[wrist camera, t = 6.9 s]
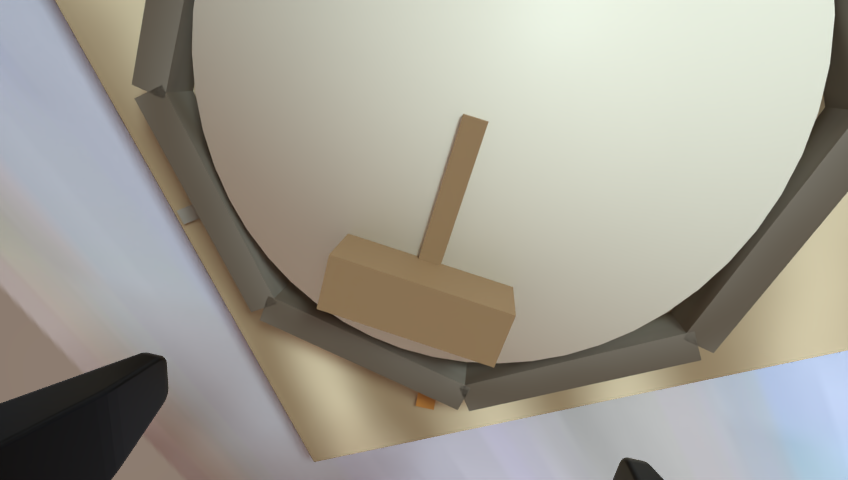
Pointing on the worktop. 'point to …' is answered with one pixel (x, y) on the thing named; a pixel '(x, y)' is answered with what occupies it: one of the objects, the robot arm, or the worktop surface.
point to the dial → (506, 155)
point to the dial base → (456, 380)
